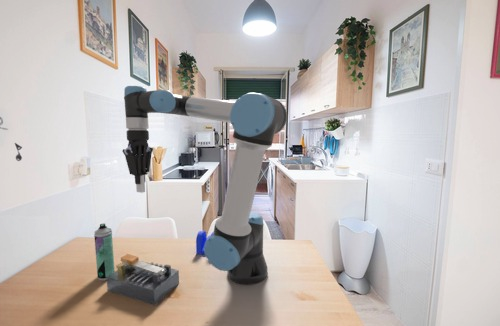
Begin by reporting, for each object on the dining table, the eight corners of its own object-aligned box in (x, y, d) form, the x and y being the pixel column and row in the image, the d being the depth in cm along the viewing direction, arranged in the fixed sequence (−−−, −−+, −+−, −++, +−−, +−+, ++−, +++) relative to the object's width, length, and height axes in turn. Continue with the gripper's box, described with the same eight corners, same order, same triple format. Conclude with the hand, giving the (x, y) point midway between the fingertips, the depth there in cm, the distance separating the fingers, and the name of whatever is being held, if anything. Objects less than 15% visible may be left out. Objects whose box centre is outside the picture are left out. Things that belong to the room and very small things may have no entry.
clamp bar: (167, 273, 83) (167, 266, 82) (160, 278, 80) (161, 270, 79) (127, 260, 89) (127, 253, 88) (120, 264, 86) (120, 257, 85)
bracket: (214, 256, 107) (214, 236, 106) (196, 254, 108) (195, 234, 107) (226, 238, 124) (226, 221, 123) (210, 237, 126) (210, 220, 125)
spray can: (109, 270, 95) (105, 220, 93) (117, 274, 92) (114, 223, 90) (94, 277, 91) (90, 225, 88) (102, 282, 88) (98, 228, 85)
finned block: (179, 283, 87) (178, 259, 86) (154, 305, 76) (153, 278, 75) (135, 272, 94) (134, 250, 93) (107, 290, 83) (105, 266, 82)
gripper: (142, 130, 99) (145, 187, 102) (115, 129, 87) (119, 195, 90) (157, 129, 96) (160, 189, 99) (131, 129, 84) (135, 196, 87)
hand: (140, 191), depth 94 cm, fingers closed
